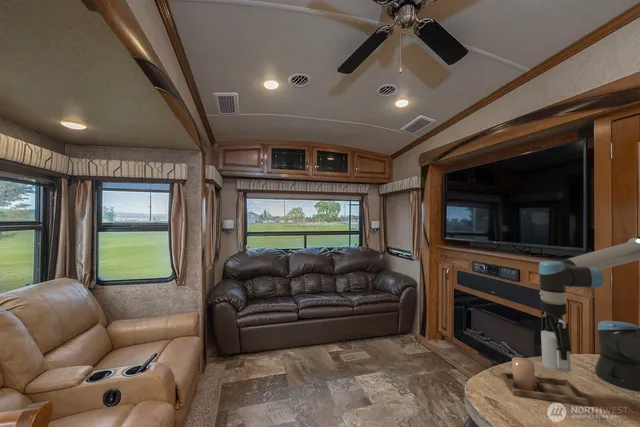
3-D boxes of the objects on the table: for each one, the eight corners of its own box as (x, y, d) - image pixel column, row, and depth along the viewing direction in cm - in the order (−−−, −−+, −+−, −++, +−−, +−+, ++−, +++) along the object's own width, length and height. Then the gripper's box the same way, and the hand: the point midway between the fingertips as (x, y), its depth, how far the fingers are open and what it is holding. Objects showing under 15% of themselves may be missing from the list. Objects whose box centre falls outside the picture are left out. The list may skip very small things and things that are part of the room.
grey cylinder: (561, 362, 106) (559, 331, 106) (576, 373, 98) (574, 340, 98) (537, 360, 107) (536, 329, 108) (550, 371, 99) (549, 338, 100)
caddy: (566, 385, 106) (566, 379, 107) (589, 407, 94) (588, 400, 94) (500, 377, 113) (500, 371, 113) (513, 396, 100) (513, 390, 101)
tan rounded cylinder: (530, 383, 107) (529, 358, 108) (539, 394, 101) (537, 367, 101) (510, 381, 109) (509, 356, 110) (517, 391, 103) (516, 364, 103)
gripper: (528, 294, 114) (531, 348, 114) (556, 309, 94) (559, 375, 93) (550, 295, 112) (552, 350, 111) (583, 311, 92) (586, 378, 91)
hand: (556, 361), depth 102 cm, fingers closed on grey cylinder, 8 cm apart
